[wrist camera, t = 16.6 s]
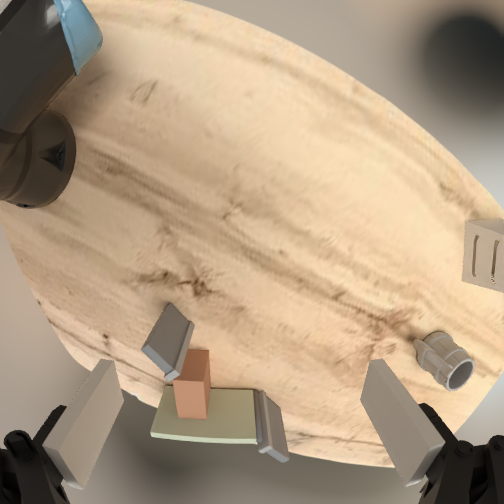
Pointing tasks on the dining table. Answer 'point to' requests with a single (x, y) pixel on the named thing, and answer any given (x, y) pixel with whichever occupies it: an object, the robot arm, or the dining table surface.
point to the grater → (484, 253)
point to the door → (212, 418)
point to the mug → (444, 360)
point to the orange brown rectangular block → (193, 386)
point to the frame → (171, 362)
